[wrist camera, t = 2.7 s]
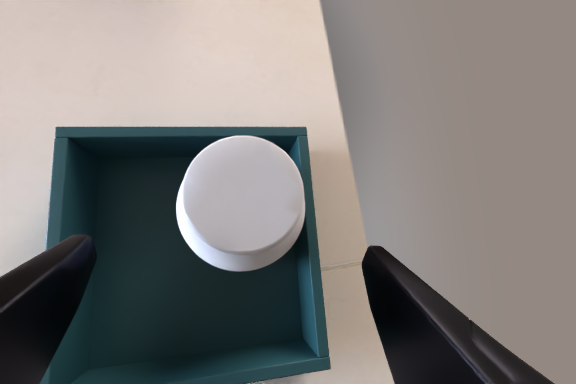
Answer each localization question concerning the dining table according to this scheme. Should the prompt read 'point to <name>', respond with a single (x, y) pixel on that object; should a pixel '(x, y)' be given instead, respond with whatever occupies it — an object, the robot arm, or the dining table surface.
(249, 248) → the pill bottle
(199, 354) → the bin
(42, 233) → the dining table surface
